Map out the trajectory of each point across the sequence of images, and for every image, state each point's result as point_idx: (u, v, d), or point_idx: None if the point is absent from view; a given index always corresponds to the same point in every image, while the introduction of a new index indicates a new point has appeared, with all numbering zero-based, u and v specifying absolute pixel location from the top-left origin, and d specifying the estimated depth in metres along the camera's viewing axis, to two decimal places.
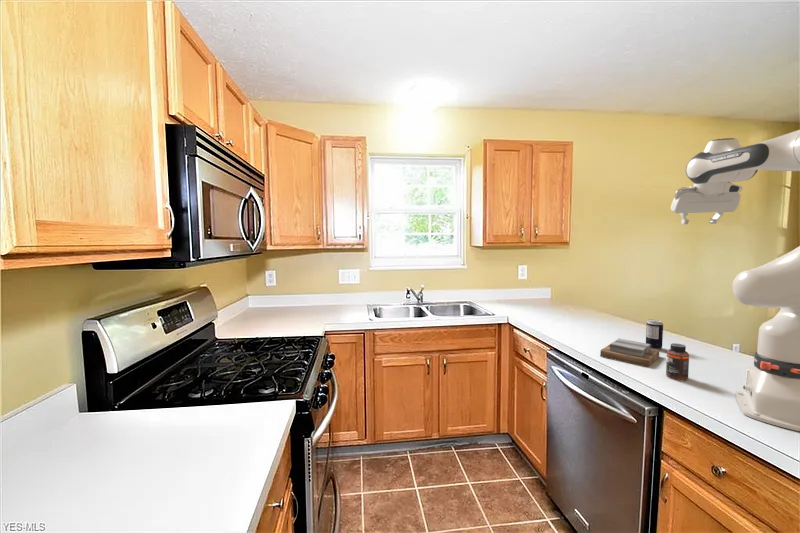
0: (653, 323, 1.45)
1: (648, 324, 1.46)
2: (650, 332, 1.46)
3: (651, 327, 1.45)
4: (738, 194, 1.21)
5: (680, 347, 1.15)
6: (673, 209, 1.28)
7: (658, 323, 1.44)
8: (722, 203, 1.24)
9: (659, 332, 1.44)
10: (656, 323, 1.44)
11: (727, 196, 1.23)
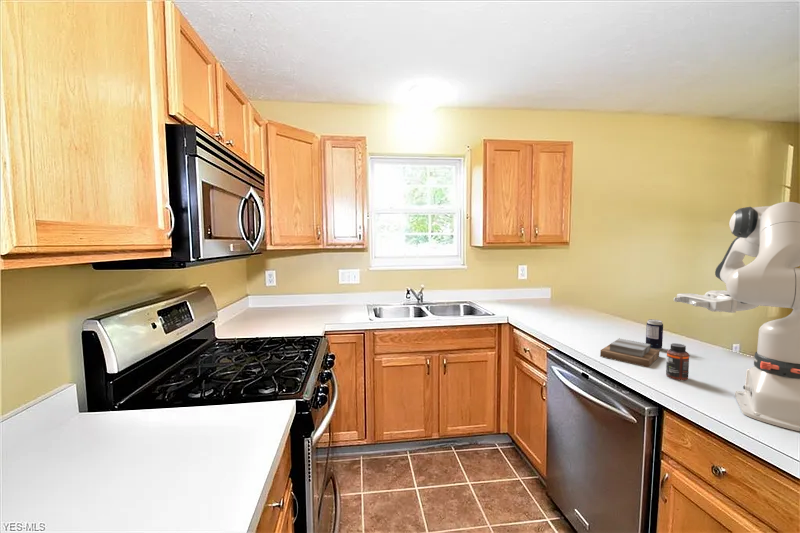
0: (653, 323, 1.45)
1: (648, 324, 1.46)
2: (650, 332, 1.46)
3: (651, 327, 1.45)
4: (729, 298, 1.38)
5: (680, 347, 1.15)
6: None
7: (658, 323, 1.44)
8: (713, 299, 1.41)
9: (659, 332, 1.44)
10: (656, 323, 1.44)
11: (721, 299, 1.40)
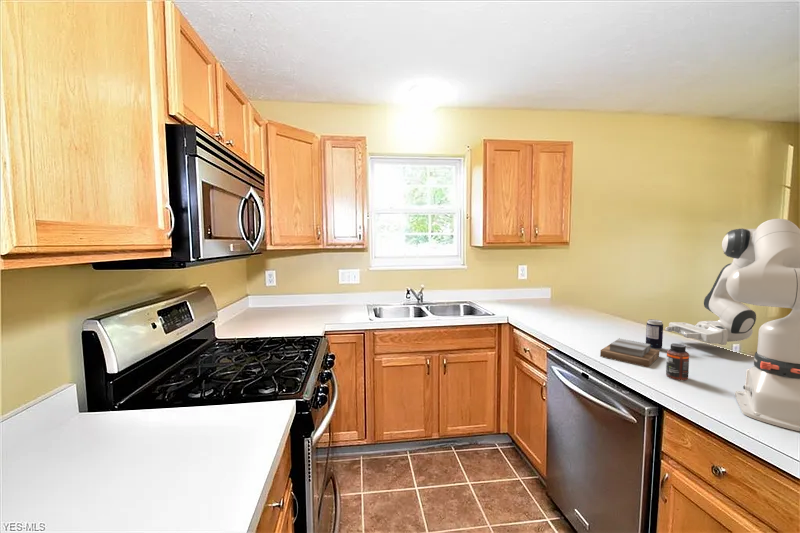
0: (653, 323, 1.45)
1: (648, 324, 1.46)
2: (650, 332, 1.46)
3: (651, 327, 1.45)
4: (720, 331, 1.39)
5: (680, 347, 1.15)
6: None
7: (658, 323, 1.44)
8: (704, 330, 1.42)
9: (659, 332, 1.44)
10: (656, 323, 1.44)
11: (712, 330, 1.41)
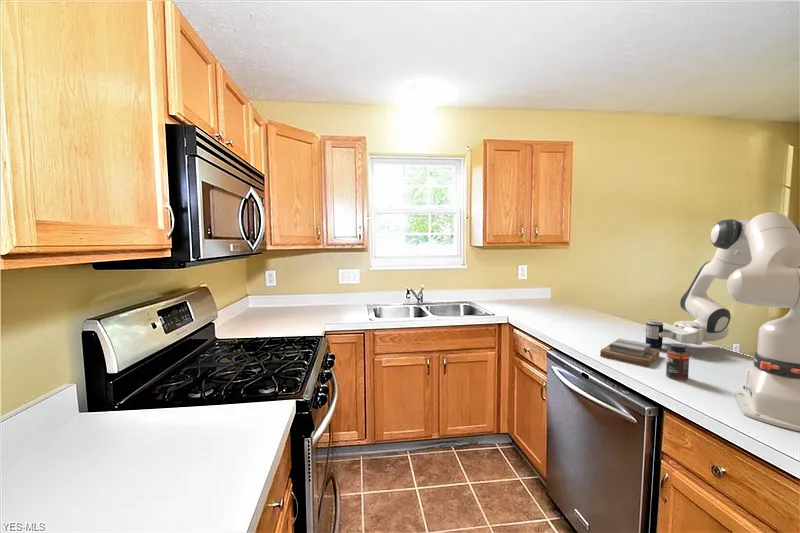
0: (653, 323, 1.45)
1: (648, 324, 1.46)
2: (650, 332, 1.46)
3: (651, 327, 1.45)
4: (695, 331, 1.38)
5: (680, 347, 1.15)
6: None
7: (658, 323, 1.44)
8: (680, 330, 1.42)
9: None
10: (656, 323, 1.44)
11: (688, 330, 1.41)
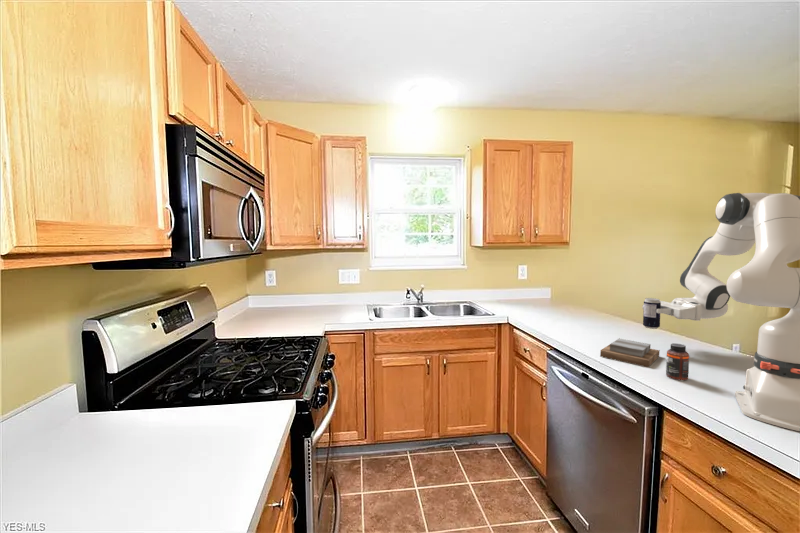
0: (650, 301, 1.42)
1: (645, 302, 1.43)
2: (647, 311, 1.43)
3: (648, 305, 1.42)
4: (694, 306, 1.35)
5: (680, 347, 1.15)
6: None
7: (655, 301, 1.41)
8: (678, 306, 1.39)
9: None
10: (653, 301, 1.41)
11: (686, 306, 1.38)
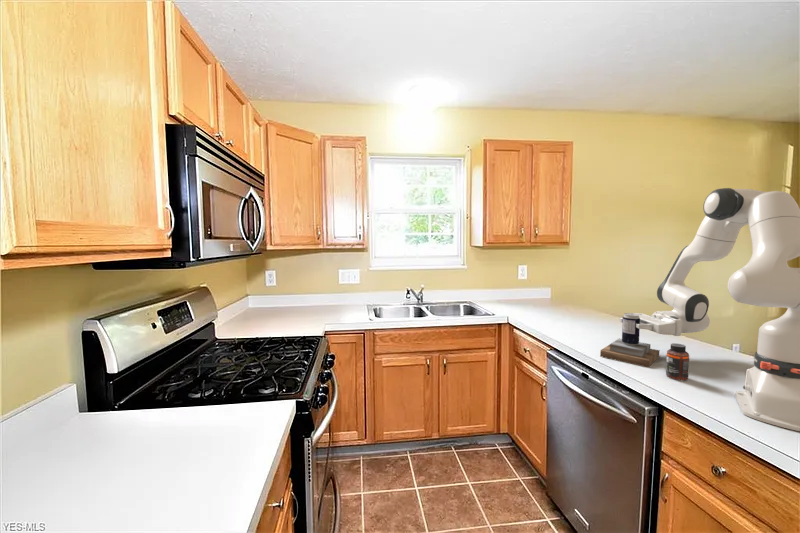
0: (629, 317, 1.35)
1: (624, 318, 1.37)
2: (626, 327, 1.36)
3: (627, 321, 1.36)
4: (674, 321, 1.29)
5: (680, 347, 1.15)
6: None
7: (634, 317, 1.34)
8: (657, 321, 1.32)
9: None
10: (632, 317, 1.35)
11: (666, 321, 1.32)
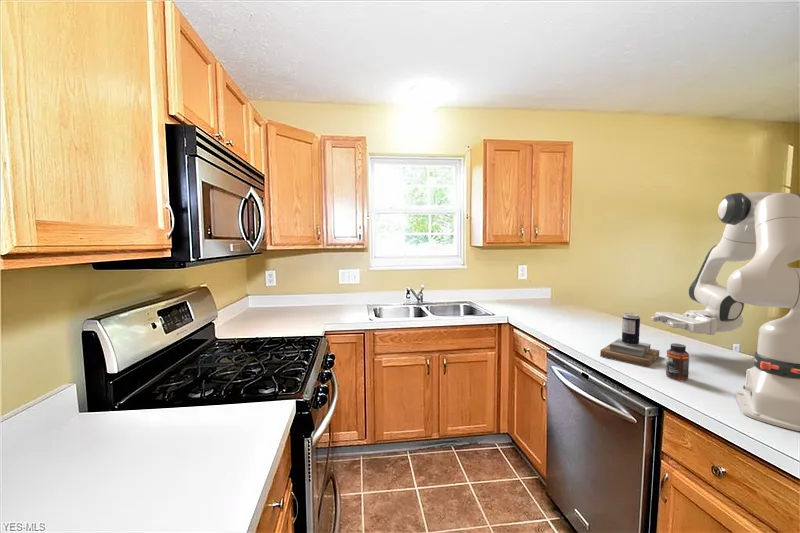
0: (629, 317, 1.35)
1: (624, 318, 1.37)
2: (626, 327, 1.36)
3: (627, 321, 1.36)
4: (708, 320, 1.29)
5: (680, 347, 1.15)
6: None
7: (634, 317, 1.34)
8: (691, 320, 1.33)
9: (636, 326, 1.34)
10: (632, 317, 1.35)
11: (700, 320, 1.32)
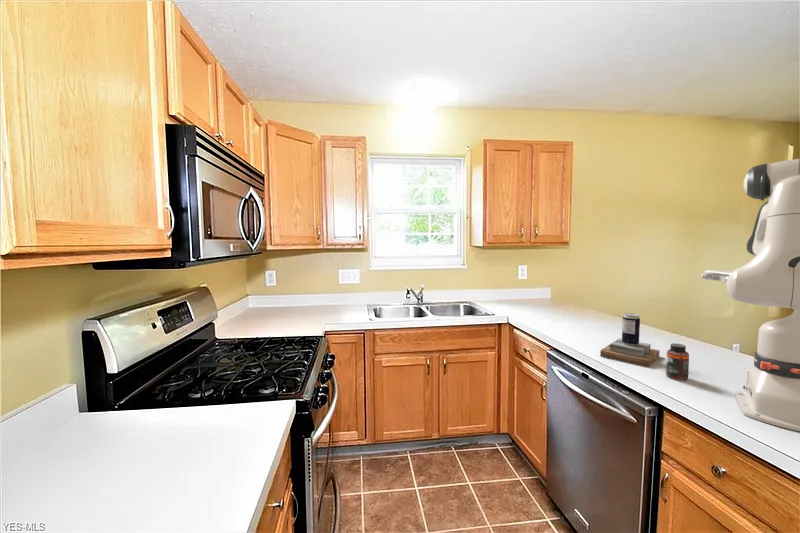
0: (629, 317, 1.35)
1: (624, 318, 1.37)
2: (626, 327, 1.36)
3: (627, 321, 1.36)
4: None
5: (680, 347, 1.15)
6: None
7: (634, 317, 1.34)
8: None
9: (636, 326, 1.34)
10: (632, 317, 1.35)
11: None
